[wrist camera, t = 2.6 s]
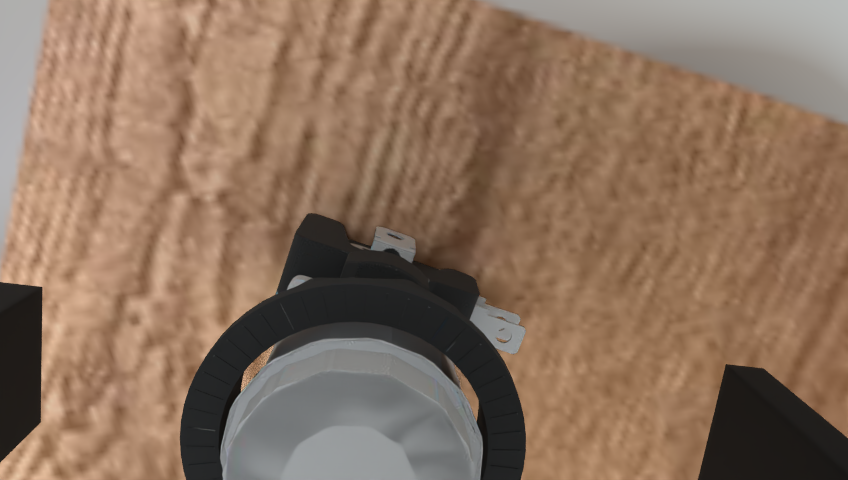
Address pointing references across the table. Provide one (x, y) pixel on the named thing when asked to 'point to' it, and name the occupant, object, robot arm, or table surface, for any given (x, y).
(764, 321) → the table surface
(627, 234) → the table surface
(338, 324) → the push button
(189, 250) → the table surface
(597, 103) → the table surface
